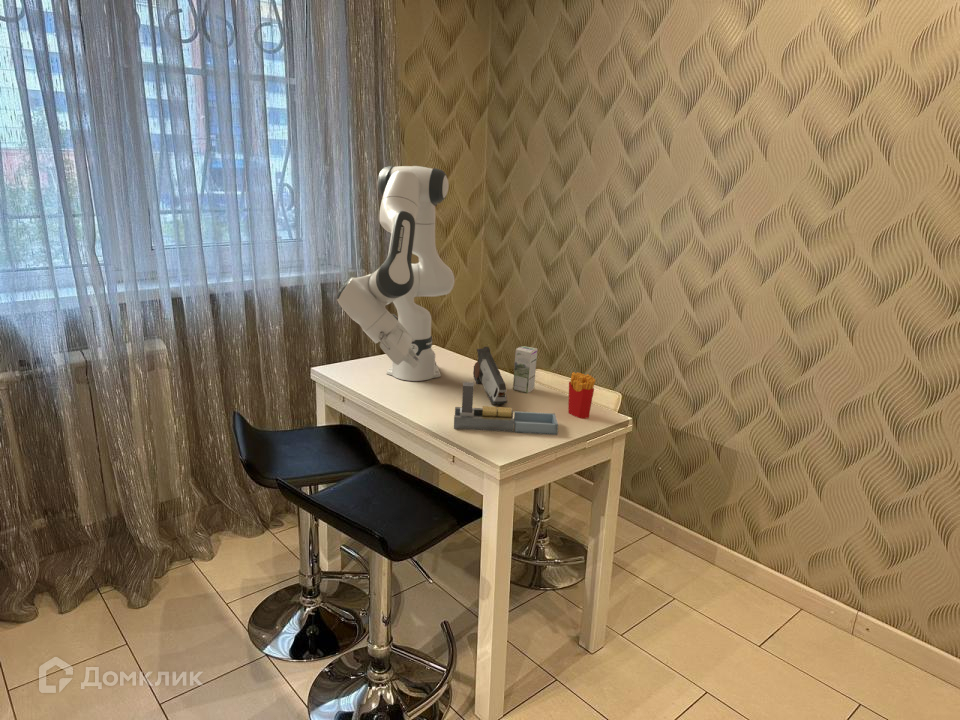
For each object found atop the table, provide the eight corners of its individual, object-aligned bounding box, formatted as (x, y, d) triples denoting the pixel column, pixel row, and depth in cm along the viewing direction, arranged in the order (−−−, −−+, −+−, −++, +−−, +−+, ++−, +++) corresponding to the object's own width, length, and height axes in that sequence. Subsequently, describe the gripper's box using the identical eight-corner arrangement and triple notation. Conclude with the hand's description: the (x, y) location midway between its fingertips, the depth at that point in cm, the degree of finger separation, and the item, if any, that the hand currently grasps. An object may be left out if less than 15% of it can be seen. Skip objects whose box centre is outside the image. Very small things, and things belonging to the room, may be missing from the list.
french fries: (563, 411, 214) (567, 371, 211) (573, 408, 217) (577, 369, 213) (584, 420, 208) (589, 380, 204) (594, 418, 210) (599, 377, 206)
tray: (513, 420, 204) (514, 411, 204) (554, 422, 205) (554, 413, 204) (515, 432, 196) (515, 422, 195) (557, 434, 196) (558, 424, 195)
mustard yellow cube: (496, 419, 202) (497, 406, 201) (510, 420, 202) (511, 407, 201) (496, 424, 198) (497, 411, 197) (510, 425, 198) (511, 412, 197)
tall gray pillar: (459, 417, 201) (461, 381, 198) (473, 417, 202) (475, 382, 198) (459, 422, 198) (461, 385, 195) (473, 422, 198) (475, 386, 195)
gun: (489, 423, 218) (496, 384, 210) (469, 374, 240) (474, 337, 232) (504, 422, 219) (511, 384, 211) (483, 374, 241) (488, 337, 233)
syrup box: (534, 389, 234) (538, 347, 229) (527, 393, 228) (531, 351, 224) (519, 385, 236) (522, 344, 232) (512, 390, 231) (515, 348, 227)
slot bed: (454, 417, 204) (455, 406, 203) (512, 421, 204) (512, 409, 203) (453, 428, 196) (454, 417, 195) (513, 431, 196) (514, 420, 195)
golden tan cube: (482, 418, 202) (482, 406, 200) (495, 419, 202) (496, 406, 201) (481, 424, 198) (482, 411, 197) (495, 424, 198) (496, 411, 197)
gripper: (386, 330, 181) (422, 367, 184) (395, 313, 201) (427, 347, 204) (369, 345, 183) (405, 382, 185) (380, 327, 202) (412, 360, 205)
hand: (417, 363), depth 195 cm, fingers open, 3 cm apart
